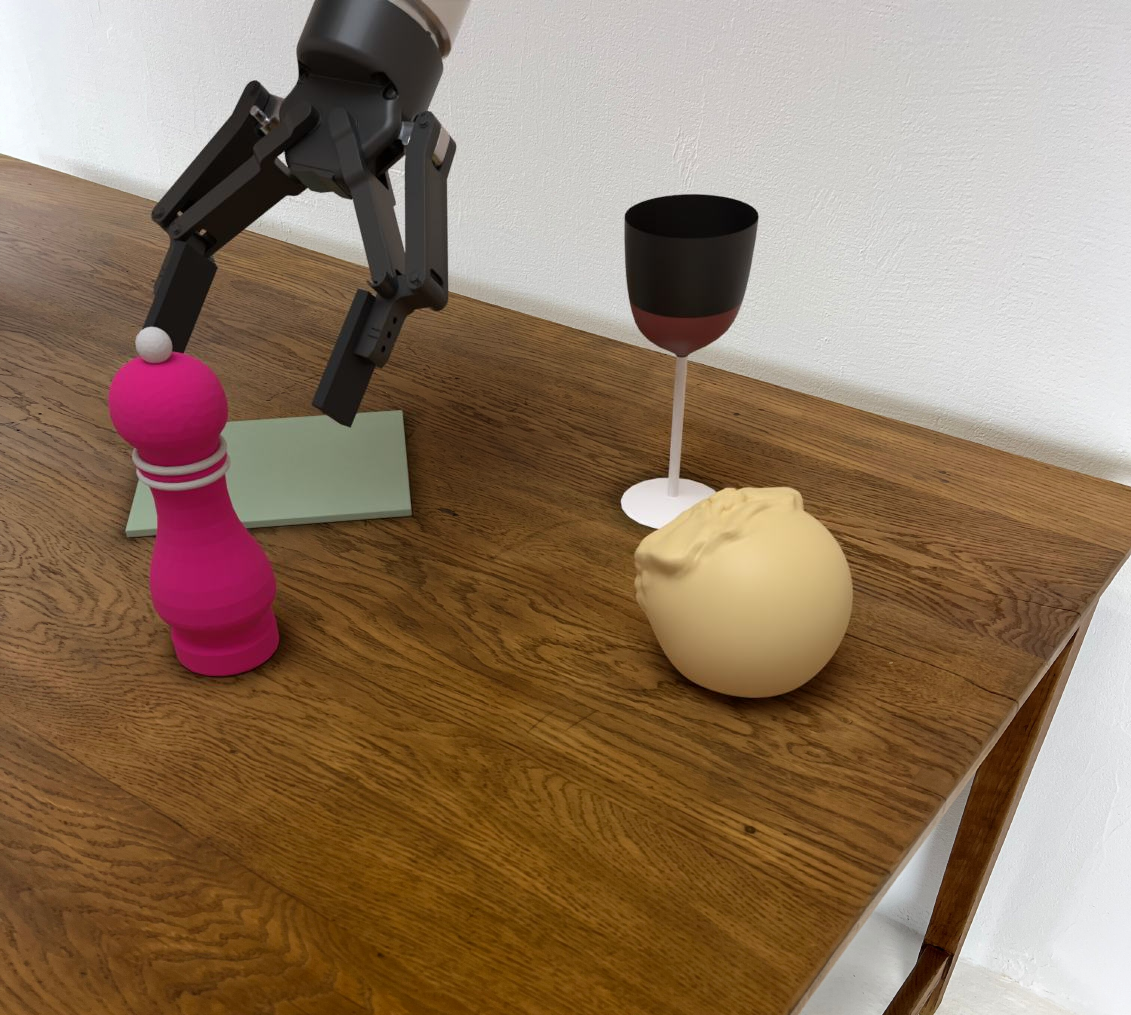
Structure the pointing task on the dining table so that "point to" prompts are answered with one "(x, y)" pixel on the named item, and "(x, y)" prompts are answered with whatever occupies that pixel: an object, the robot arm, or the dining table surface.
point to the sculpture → (745, 591)
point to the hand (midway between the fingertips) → (239, 387)
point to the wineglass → (683, 308)
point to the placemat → (306, 472)
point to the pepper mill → (194, 511)
